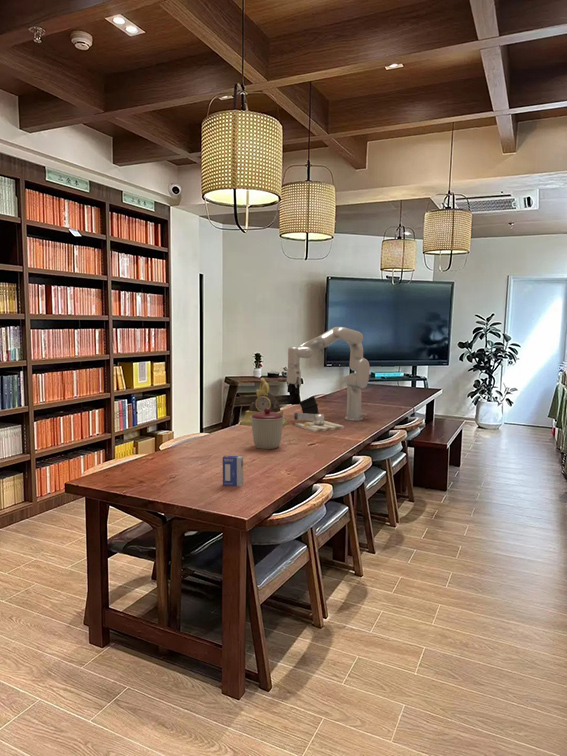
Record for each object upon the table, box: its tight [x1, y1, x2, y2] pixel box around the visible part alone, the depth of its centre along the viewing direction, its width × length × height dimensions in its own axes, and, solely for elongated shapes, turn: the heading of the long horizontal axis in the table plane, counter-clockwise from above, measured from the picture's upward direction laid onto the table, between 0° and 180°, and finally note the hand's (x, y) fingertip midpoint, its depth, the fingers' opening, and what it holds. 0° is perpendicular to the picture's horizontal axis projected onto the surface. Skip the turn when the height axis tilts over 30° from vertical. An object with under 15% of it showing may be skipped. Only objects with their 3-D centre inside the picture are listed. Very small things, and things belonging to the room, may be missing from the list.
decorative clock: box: [239, 377, 289, 428], centre depth 334 cm, size 28×13×30 cm, turn 73°
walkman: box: [222, 455, 244, 488], centre depth 208 cm, size 8×3×12 cm, turn 81°
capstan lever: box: [293, 412, 325, 425], centre depth 329 cm, size 19×6×6 cm, turn 72°
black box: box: [299, 395, 320, 414], centre depth 361 cm, size 4×13×15 cm, turn 74°
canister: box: [250, 408, 285, 450], centre depth 273 cm, size 18×18×21 cm
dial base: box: [294, 420, 345, 433], centre depth 328 cm, size 22×22×3 cm
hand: (293, 392), depth 337 cm, fingers open, 8 cm apart
